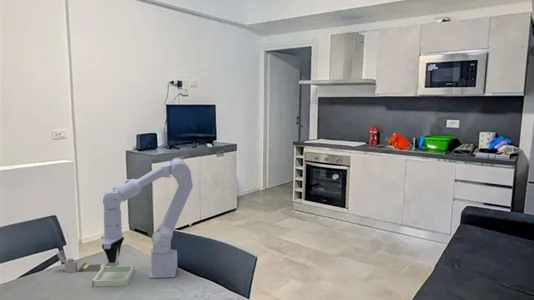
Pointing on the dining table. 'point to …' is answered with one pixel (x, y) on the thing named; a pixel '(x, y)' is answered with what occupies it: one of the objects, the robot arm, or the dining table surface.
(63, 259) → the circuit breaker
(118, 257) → the fuse
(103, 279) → the tray
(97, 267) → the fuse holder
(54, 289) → the dining table surface
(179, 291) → the dining table surface
